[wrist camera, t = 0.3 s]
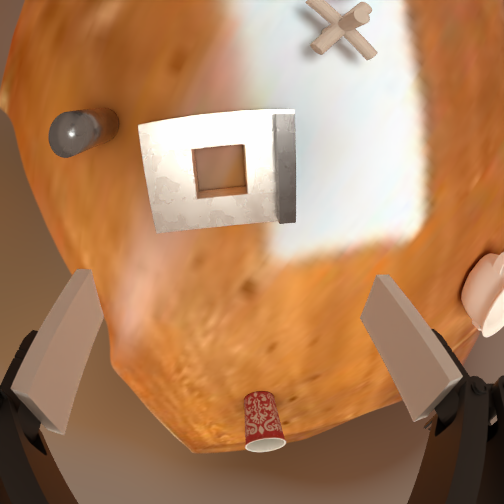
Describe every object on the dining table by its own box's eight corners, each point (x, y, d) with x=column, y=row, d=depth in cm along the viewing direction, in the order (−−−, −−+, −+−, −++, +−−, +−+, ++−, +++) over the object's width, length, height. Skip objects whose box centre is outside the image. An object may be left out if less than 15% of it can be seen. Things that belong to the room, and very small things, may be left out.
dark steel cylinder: (85, 113, 29) (46, 119, 20) (117, 104, 29) (82, 105, 20) (90, 146, 31) (52, 162, 22) (121, 138, 31) (89, 151, 23)
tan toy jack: (331, 81, 30) (367, 77, 22) (274, 31, 27) (293, 7, 18) (374, 41, 27) (416, 30, 19) (322, -8, 23) (352, -35, 15)
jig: (145, 123, 31) (132, 126, 26) (287, 108, 32) (298, 109, 27) (161, 222, 38) (153, 240, 33) (289, 209, 39) (299, 225, 34)
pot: (486, 299, 57) (510, 326, 47) (446, 320, 58) (470, 352, 47) (505, 231, 46) (537, 256, 36) (464, 248, 47) (500, 280, 36)
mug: (235, 393, 60) (240, 443, 48) (273, 385, 60) (282, 435, 48) (249, 414, 66) (254, 458, 55) (282, 407, 66) (290, 451, 54)
